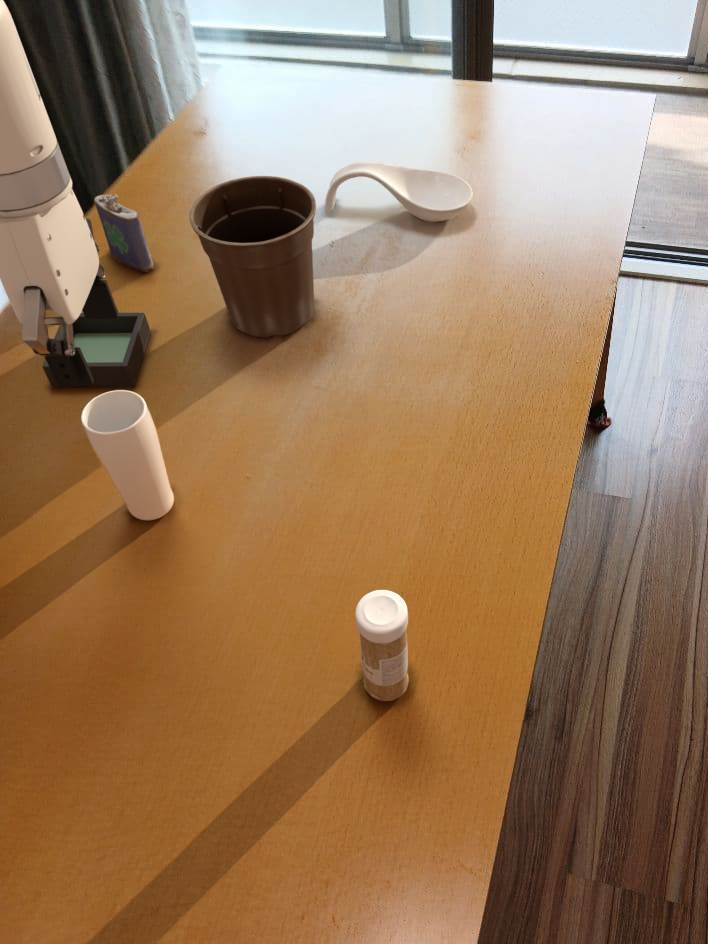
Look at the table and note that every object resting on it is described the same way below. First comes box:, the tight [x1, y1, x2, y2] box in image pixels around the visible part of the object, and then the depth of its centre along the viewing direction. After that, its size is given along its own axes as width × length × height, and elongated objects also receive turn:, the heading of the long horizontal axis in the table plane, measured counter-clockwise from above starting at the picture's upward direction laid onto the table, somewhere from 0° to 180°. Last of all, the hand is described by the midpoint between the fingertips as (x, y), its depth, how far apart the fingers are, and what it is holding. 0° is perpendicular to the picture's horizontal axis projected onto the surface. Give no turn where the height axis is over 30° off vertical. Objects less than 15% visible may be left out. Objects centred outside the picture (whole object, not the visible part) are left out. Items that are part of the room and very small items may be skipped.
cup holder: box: [41, 312, 152, 388], centre depth 110 cm, size 11×11×4 cm
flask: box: [93, 193, 155, 273], centre depth 121 cm, size 9×3×11 cm, turn 50°
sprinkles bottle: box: [355, 589, 410, 702], centre depth 75 cm, size 5×5×13 cm
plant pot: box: [188, 175, 317, 339], centre depth 110 cm, size 16×16×16 cm
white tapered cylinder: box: [80, 389, 175, 521], centre depth 89 cm, size 7×7×15 cm
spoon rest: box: [324, 161, 474, 223], centre depth 129 cm, size 24×12×7 cm, turn 85°
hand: (90, 349), depth 77 cm, fingers open, 9 cm apart
